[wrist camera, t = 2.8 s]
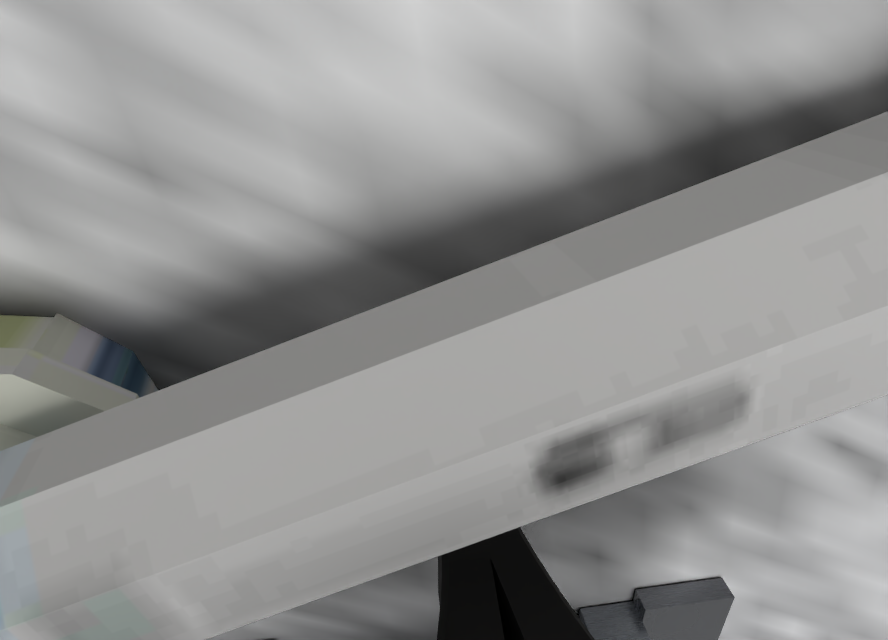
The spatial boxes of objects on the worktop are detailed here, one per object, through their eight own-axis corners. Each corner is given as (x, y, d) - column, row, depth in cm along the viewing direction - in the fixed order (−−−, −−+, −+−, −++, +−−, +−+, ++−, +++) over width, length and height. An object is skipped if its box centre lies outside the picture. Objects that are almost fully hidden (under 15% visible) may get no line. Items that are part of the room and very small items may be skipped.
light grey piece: (1458, 284, 9) (-423, 1164, 6) (978, 176, 14) (-80, 583, 11) (1801, -161, 6) (-1486, 1084, 3) (1040, -75, 12) (-330, 373, 9)
